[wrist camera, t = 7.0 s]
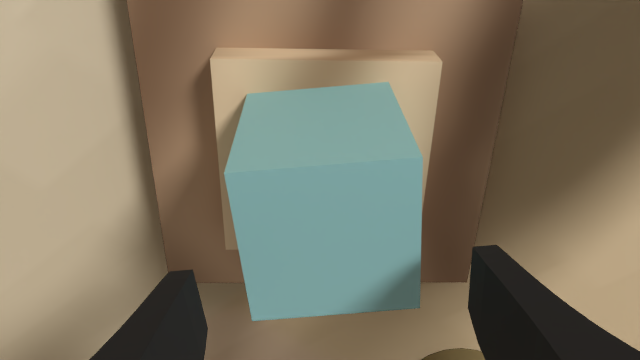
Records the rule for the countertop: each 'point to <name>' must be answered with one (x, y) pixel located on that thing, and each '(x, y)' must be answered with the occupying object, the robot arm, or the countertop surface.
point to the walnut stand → (315, 72)
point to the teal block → (326, 202)
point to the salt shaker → (456, 355)
